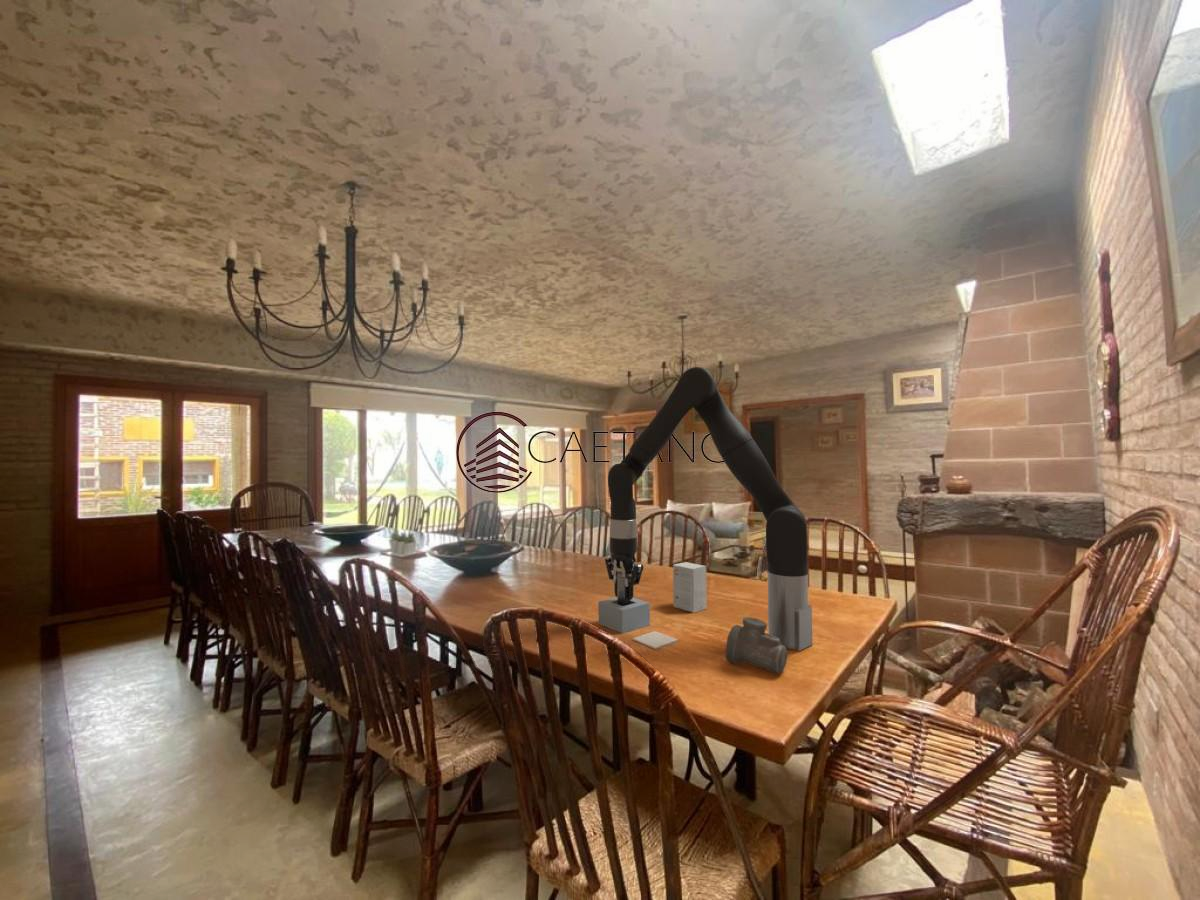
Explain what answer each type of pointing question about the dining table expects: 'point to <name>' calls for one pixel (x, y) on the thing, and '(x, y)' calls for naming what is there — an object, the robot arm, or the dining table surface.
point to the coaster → (655, 640)
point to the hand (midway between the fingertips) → (623, 597)
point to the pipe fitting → (755, 646)
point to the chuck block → (624, 615)
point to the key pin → (621, 588)
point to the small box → (689, 587)
